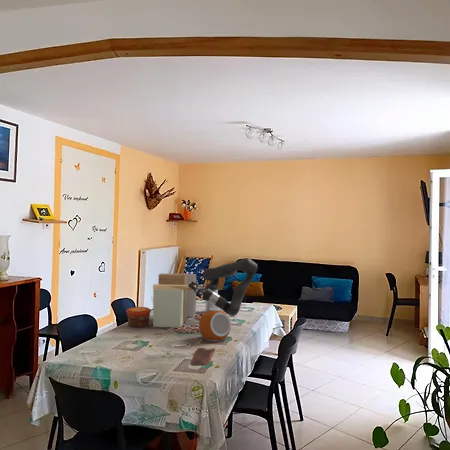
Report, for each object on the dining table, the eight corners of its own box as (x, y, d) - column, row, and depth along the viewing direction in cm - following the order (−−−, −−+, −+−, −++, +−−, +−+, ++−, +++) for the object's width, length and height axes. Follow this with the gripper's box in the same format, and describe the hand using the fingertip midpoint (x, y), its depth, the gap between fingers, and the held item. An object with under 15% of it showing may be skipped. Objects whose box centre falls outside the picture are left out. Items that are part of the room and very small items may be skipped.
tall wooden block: (159, 318, 298) (160, 273, 297) (188, 319, 296) (188, 273, 295) (156, 322, 289) (156, 274, 288) (185, 323, 287) (185, 275, 286)
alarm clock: (208, 344, 239) (208, 313, 239) (193, 336, 254) (193, 307, 253) (236, 339, 249) (236, 309, 249) (220, 332, 264) (221, 304, 264)
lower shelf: (156, 323, 286) (157, 287, 285) (183, 324, 284) (183, 288, 283) (153, 326, 277) (153, 289, 276) (180, 327, 275) (180, 290, 274)
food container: (120, 326, 276) (120, 310, 276) (136, 321, 290) (136, 305, 290) (140, 329, 268) (140, 312, 268) (155, 324, 282) (155, 308, 282)
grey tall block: (195, 315, 309) (196, 274, 309) (194, 317, 303) (194, 275, 303) (176, 314, 310) (176, 273, 310) (174, 316, 305) (175, 274, 304)
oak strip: (154, 288, 283) (154, 284, 283) (196, 289, 280) (196, 285, 280) (153, 288, 279) (153, 285, 279) (195, 290, 276) (195, 286, 276)
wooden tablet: (208, 364, 203) (188, 360, 204) (207, 368, 203) (187, 365, 204) (216, 348, 230) (197, 344, 231) (215, 352, 230) (197, 349, 231)
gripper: (215, 290, 284) (194, 277, 285) (212, 293, 270) (191, 280, 271) (209, 299, 284) (189, 286, 286) (206, 303, 270) (185, 290, 271)
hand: (190, 283), depth 278 cm, fingers open, 8 cm apart
